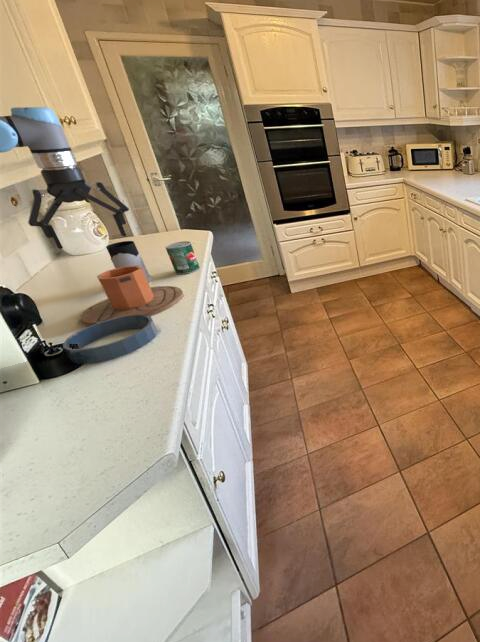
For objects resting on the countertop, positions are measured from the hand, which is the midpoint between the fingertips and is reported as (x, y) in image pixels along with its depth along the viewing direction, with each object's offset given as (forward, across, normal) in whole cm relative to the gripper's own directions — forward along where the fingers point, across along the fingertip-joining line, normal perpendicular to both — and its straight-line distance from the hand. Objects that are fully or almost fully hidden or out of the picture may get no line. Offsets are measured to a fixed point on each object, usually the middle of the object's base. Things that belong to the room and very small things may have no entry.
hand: (93, 241), depth 116 cm
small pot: (+22, +3, +2) cm, 22 cm away
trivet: (+24, +3, +2) cm, 25 cm away
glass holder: (+24, +10, +31) cm, 41 cm away
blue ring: (+24, -6, -25) cm, 35 cm away
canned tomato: (+24, +24, +25) cm, 42 cm away
